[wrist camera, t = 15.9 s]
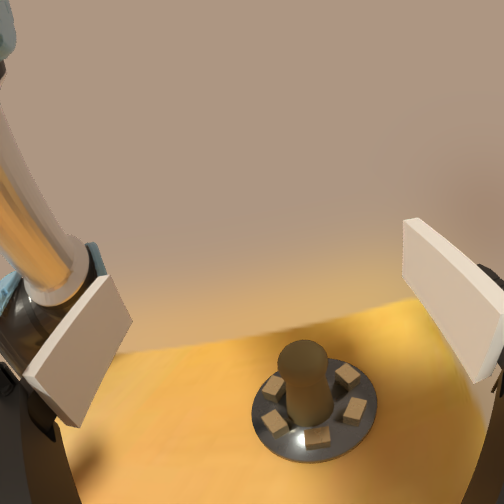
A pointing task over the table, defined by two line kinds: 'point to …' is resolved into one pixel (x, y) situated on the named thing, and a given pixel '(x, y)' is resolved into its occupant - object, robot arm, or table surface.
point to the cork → (306, 383)
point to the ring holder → (326, 434)
